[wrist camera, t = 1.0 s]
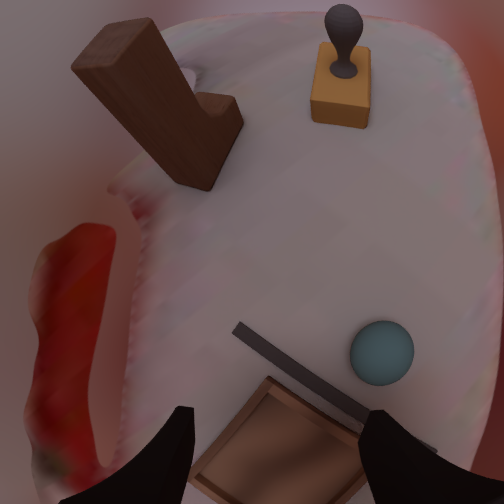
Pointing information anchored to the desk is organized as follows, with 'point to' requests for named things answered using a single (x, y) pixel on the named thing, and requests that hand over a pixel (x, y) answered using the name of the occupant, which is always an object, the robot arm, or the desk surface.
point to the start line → (304, 375)
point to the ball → (382, 353)
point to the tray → (280, 454)
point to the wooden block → (159, 101)
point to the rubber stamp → (342, 72)
